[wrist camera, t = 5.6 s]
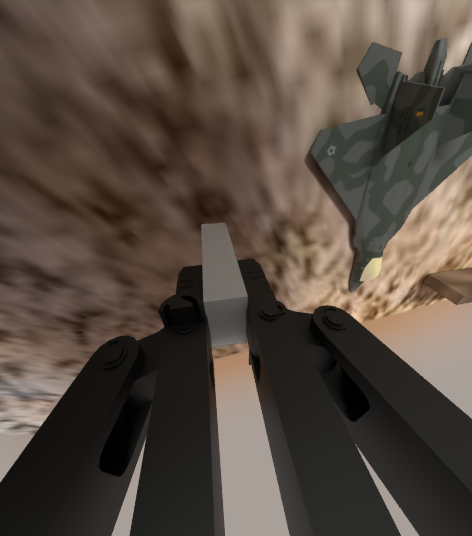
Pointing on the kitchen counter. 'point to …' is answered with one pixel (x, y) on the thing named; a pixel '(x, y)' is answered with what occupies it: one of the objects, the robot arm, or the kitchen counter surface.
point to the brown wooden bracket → (452, 285)
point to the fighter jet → (397, 147)
